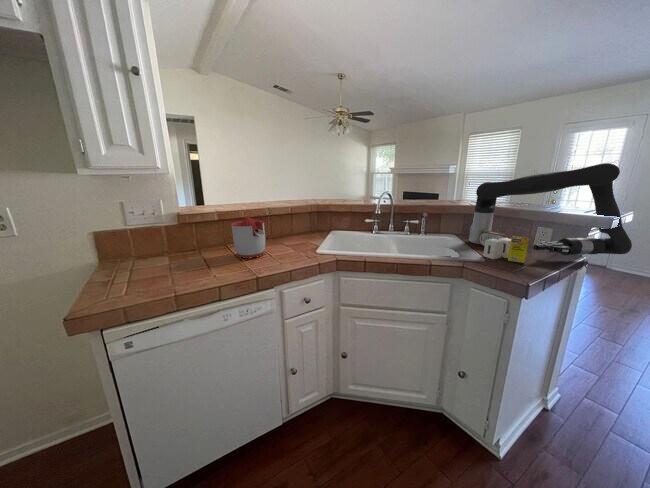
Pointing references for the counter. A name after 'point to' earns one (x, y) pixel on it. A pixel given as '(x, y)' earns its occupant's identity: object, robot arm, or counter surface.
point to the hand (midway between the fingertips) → (534, 247)
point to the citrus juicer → (249, 237)
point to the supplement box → (518, 249)
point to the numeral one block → (493, 248)
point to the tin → (490, 236)
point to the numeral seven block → (505, 247)
